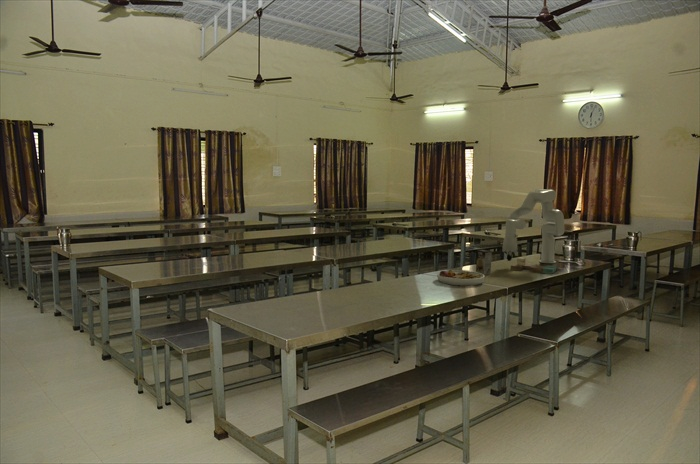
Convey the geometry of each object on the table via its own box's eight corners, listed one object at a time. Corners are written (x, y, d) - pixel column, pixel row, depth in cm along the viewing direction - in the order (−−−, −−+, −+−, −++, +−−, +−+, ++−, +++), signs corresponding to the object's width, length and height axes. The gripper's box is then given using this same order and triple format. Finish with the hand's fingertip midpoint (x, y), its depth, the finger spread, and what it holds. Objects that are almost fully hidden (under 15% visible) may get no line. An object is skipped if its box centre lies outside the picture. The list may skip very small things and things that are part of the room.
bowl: (467, 276, 362) (467, 265, 361) (494, 285, 334) (494, 272, 333) (428, 279, 351) (428, 267, 350) (452, 288, 323) (453, 275, 322)
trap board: (515, 266, 402) (516, 262, 402) (556, 270, 388) (556, 266, 388) (510, 269, 388) (510, 265, 387) (552, 273, 373) (552, 269, 373)
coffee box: (475, 272, 376) (476, 249, 374) (482, 271, 378) (483, 249, 377) (483, 274, 368) (484, 251, 366) (491, 273, 370) (492, 251, 368)
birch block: (518, 263, 395) (518, 257, 395) (525, 264, 393) (525, 257, 392) (516, 264, 391) (517, 258, 390) (523, 265, 388) (524, 258, 388)
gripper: (521, 236, 393) (520, 261, 395) (501, 235, 401) (500, 259, 403) (519, 237, 387) (518, 262, 389) (499, 235, 394) (497, 260, 396)
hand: (509, 260), depth 396 cm, fingers closed
